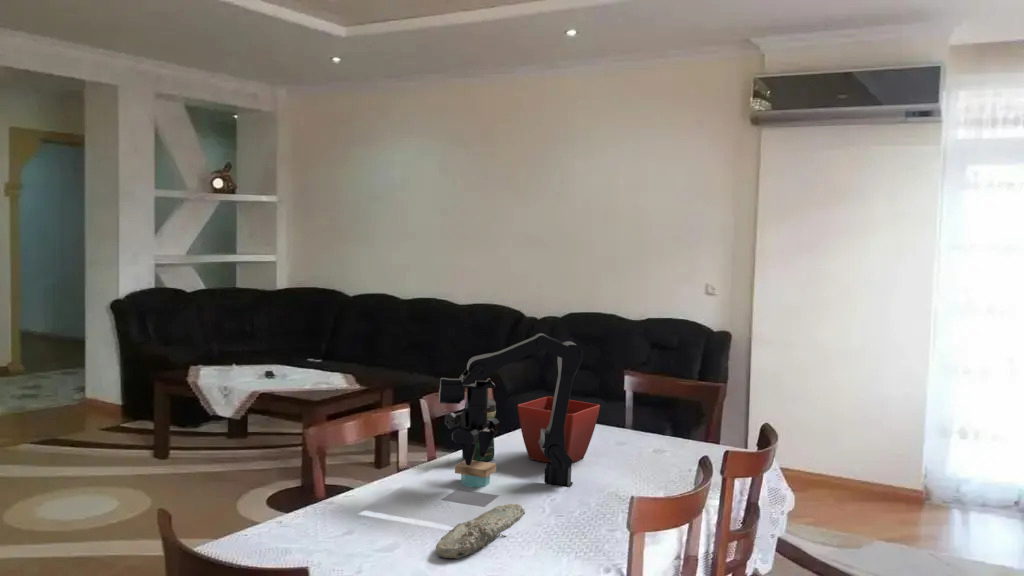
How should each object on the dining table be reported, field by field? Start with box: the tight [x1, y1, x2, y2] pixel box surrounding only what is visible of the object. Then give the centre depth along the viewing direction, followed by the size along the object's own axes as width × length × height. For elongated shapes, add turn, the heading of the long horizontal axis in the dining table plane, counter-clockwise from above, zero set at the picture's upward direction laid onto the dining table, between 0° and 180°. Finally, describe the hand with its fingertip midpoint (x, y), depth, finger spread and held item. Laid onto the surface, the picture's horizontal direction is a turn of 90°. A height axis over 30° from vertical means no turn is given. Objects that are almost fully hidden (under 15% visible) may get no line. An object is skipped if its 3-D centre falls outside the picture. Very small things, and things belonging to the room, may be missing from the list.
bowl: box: [460, 474, 491, 488], centre depth 230 cm, size 7×7×4 cm
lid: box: [454, 459, 497, 478], centre depth 230 cm, size 9×7×2 cm
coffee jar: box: [461, 397, 497, 462], centre depth 257 cm, size 10×8×19 cm
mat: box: [440, 488, 500, 508], centre depth 218 cm, size 12×10×1 cm
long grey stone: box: [435, 503, 526, 560], centre depth 195 cm, size 35×5×10 cm
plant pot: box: [517, 396, 601, 464], centre depth 260 cm, size 19×19×17 cm
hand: (475, 460), depth 230 cm, fingers open, 9 cm apart
